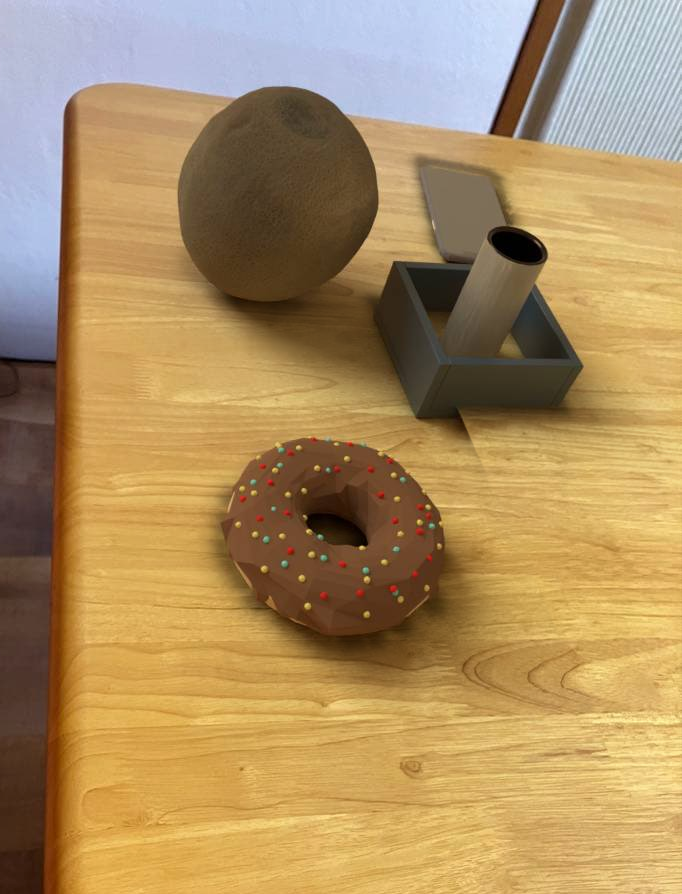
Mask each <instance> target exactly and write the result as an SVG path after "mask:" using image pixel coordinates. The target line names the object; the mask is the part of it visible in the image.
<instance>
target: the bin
mask: <svg viewBox="0 0 682 894" xmlns="http://www.w3.org/2000/svg"><path fill="white" fill-rule="evenodd" d="M472 266H473V264H466V263H449V262H448V263H447V262H430V261H429V262H427V261H409V260H408V261H407V260H403V261H402V260H393V262H392V263H391V266H390V268H389V272H388V274H387V278H386V280H385V283H384V286H383V288H382V290H381V291H382V292H381V295H380V297H379V299H378V302H377V305H376V308H375V310H374V314H373V317H374V319H375V322H376V325H377V327H378V329H379V331H380V334H381V337H382V339H383V341H384V344H385V346H386V348H387V351H388V354H389V356H390V358H391V360H392V363H393V366H394V368H395V370H396V373H397V376H398V378H399V380H400V383H401V385H402V388H403V390H404V393H405V395H406V397H407V400H408V402H409V405H410V407H411V410H412V412H413V415H414V417H415V418H416V419H461V418H462V416H461V413H460V411H459V409H458V407H560V405H561V404H562V402H563V400H564V399H565V398H566V396H567V394H568V393H569V391H570V389H571V388H572V386H573V385H574V383H575V381H576V380H577V378H578V377H579V375H580V373H581V372H582V370H583V369H584V367H585V366H584V364H583V362H582V361H581V359H580V357H579V356H578V354H577V352H576V351H575V349H574V346H573V345H572V344H571V342H570V340H569V338H568V337H567V334H565V332H564V330H563V328H562V326H561V325H560V323H559V321H558V320H557V318H556V316H555V315H554V313H553V311H552V310H551V308H550V306H549V305H548V303H547V301H546V299H545V297H544V296H543V294H542V292H541V290H540V289H539V287H538V285H537V284H536V283H535V284H534V286H533V288H532V290H531V292H530V293H529V295H528V297H527V299H526V301H525V303H524V305H523V307H522V309H521V311H520V312H519V314H518V316H517V318H516V320H515V322H514V324H513V326H512V328H511V330H510V332H509V333H511V334H510V335H511V336H512V337H513V339H514V341H515V343H516V345H517V347H518V348H519V351H520V353H521V354H522V357H523V358H522V357H519V358H517V357H496V358H469V357H448V358H447V356H446V354H445V352H444V350H443V347H442V345H441V343H440V341H439V340H440V338H439V336H438V335H437V332H436V330H435V328H434V325H433V324H432V321H431V319H430V317H429V315H428V313H427V312H444V313H445V312H447V313H452V311H453V309H454V306H455V304H456V302H457V300H458V297H459V295H460V293H461V291H462V289H463V286H464V284H465V282H466V280H467V278H468V275H469V273H470V271H471V269H472Z"/></svg>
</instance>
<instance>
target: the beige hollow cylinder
mask: <svg viewBox="0 0 682 894" xmlns="http://www.w3.org/2000/svg"><path fill="white" fill-rule="evenodd" d="M548 258H549V251H548V249H547V246H546V245H545V244H544V243H543V242H542V240H541V239H539V238H538V237H537V236H535V235H534V234H532V233H531V232H529V231H527V230H525V229H522V228H519V227H516V226H511V225H507V226H498V227H495V228H493V229H491V230H490V231H489V232H488V233H487V235H486V238H485V240H484V242H483V244H482V246H481V249H480V251H479V253H478V255H477V258H476V260H475V262H474V264H472V265H473V266H472V269H471V271H470V273H469V275H468V278H467V280H466V282H465V284H464V286H463V289H462V291H461V293H460V295H459V297H458V300H457V302H456V304H455V306H454V309H453V311H452V312H450V316H449V317H448V320H447V322H446V325H445V326H444V329H443V331H442V333H441V335H440V338H439V341H440V343H441V345H442V347H443V350H444V352H445V354H446V356H447V358H448V357H469V358H497V357H498V354H499V352H500V350H501V349H502V347H503V345H504V343H505V342H506V339H507V337H508V335H509V333H511V332H510V330H511V328H512V326H513V324H514V322H515V320H516V318H517V316H518V314H519V312H520V311H521V309H522V307H523V305H524V303H525V301H526V299H527V297H528V295H529V293H530V292H531V290H532V288H533V286H534V284H536V282H537V280H538V278H539V276H540V274H541V272H542V270H543V269H544V266H545V264H546V263H547V261H548Z"/></svg>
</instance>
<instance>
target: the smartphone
mask: <svg viewBox="0 0 682 894" xmlns="http://www.w3.org/2000/svg"><path fill="white" fill-rule="evenodd" d="M419 177H420V181H421V185H422V189H423V192H424V196H425V201H426V205H427V208H428V212H429V215H430V220H431V224H432V229H433V233H434V235H435V239H436V243H437V247H438V251H439V255H440V257H442V259H444V260H446V261H448V262H454V263H459V264H469V265H473V264H474V262H475V260H476V258H477V255H478V253H479V251H480V249H481V246H482V244H483V242H484V240H485V238H486V235H487V233H488V232H489V231H490V230H491V229H493V228H495V227H498V226H508V223H507V220H506V218H505V215H504V211H503V209H502V206H501V204H500V200H499V197H498V194H497V191H496V189H495V186H494V183H493V181H492V180H491V178H489V177H486V176H481V175H474V174H470V173H465V172H461V171H460V172H459V171H454V170H448V169H443V168H437V167H432V166H426V165H425V166H424V165H423V166H422V167H421V168H420V171H419Z"/></svg>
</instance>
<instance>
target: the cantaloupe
mask: <svg viewBox="0 0 682 894" xmlns="http://www.w3.org/2000/svg"><path fill="white" fill-rule="evenodd" d="M186 153H187V154H186V155H185V157H184V160H183V163H182V165H181V169H180V172H179V175H178V181H177V182H178V183H177V191H176V193H177V209H178V210H177V211H178V219H179V228H180V235H181V239H182V242H183V244H184V247H185V249H186V251H187V254H188V255H189V257H190V259H191V260H192V263H193V264H194V265H195V267H196V268H197V269H198V271H199V272H200V273H201V274H202V276H204V278H205V279H206V280H207V281H208V282H209V283H210V284H212V285H213V286H214V287H215V288H216V289H218V290H220V291H221V292H224V293H225V294H227V295H230V296H233V297H236V298H239V299H243V300H248V301H254V302H276V301H277V302H278V301H284V300H288V299H292V298H295V297H299V296H301V295H304V294H306V293H308V292H310V291H313V290H315V289H318V287H320V286H322V285H324V284H326V283H328V282H329V281H331V280H332V279H334V278H335V277H336V276H338V275H339V273H341V272H342V271H343V270H344V269H345V268H346V266H347V265H348V264H349V263H350V262H351V261H352V260H353V258H354V257H355V256H356V255H357V253H358V252H359V251H360V249H361V247H362V246H363V244H364V243H365V242H366V240H367V238H368V237H369V235H370V233H371V231H372V229H373V226H374V224H375V220H376V217H377V215H378V210H379V204H380V202H379V187H378V178H377V176H378V175H377V169H376V165H375V162H374V160H373V157H372V154H371V152H370V150H369V148H368V145H367V143H366V141H365V139H364V138H363V136H362V134H361V132H360V131H359V129H358V127H356V126H355V124H354V123H353V121H352V120H351V119H349V118H348V116H346V115H345V113H344V112H343V111H342V110H341V109H340V108H339V106H338V105H336V104H335V103H334V102H333V101H332V100H330V99H328V98H327V97H325V96H323V95H322V94H319V93H317V92H314V91H312V90H309V89H306V88H303V87H302V88H301V87H298V86H297V87H296V86H288V85H283V86H280V85H279V86H278V85H277V86H276V85H273V86H263V87H260V88H258V89H254V90H251V91H248V92H247V93H245V94H243V95H241V96H238V97H237V98H236V99H234V100H233V101H232V102H231V103H229V104H228V105H227V106H226V107H225V108H223V109H222V110H220V111H218V112H217V113H215V115H213V116H212V117H211V118H209V120H208V122H207V123H206V124H205V125H204V127H203V128H202V129H201V130H200V132H199V134H198V136H197V137H196V139H195V140H194V142H193V143H192V144H191V146H190V148H189V149H188V152H186Z"/></svg>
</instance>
